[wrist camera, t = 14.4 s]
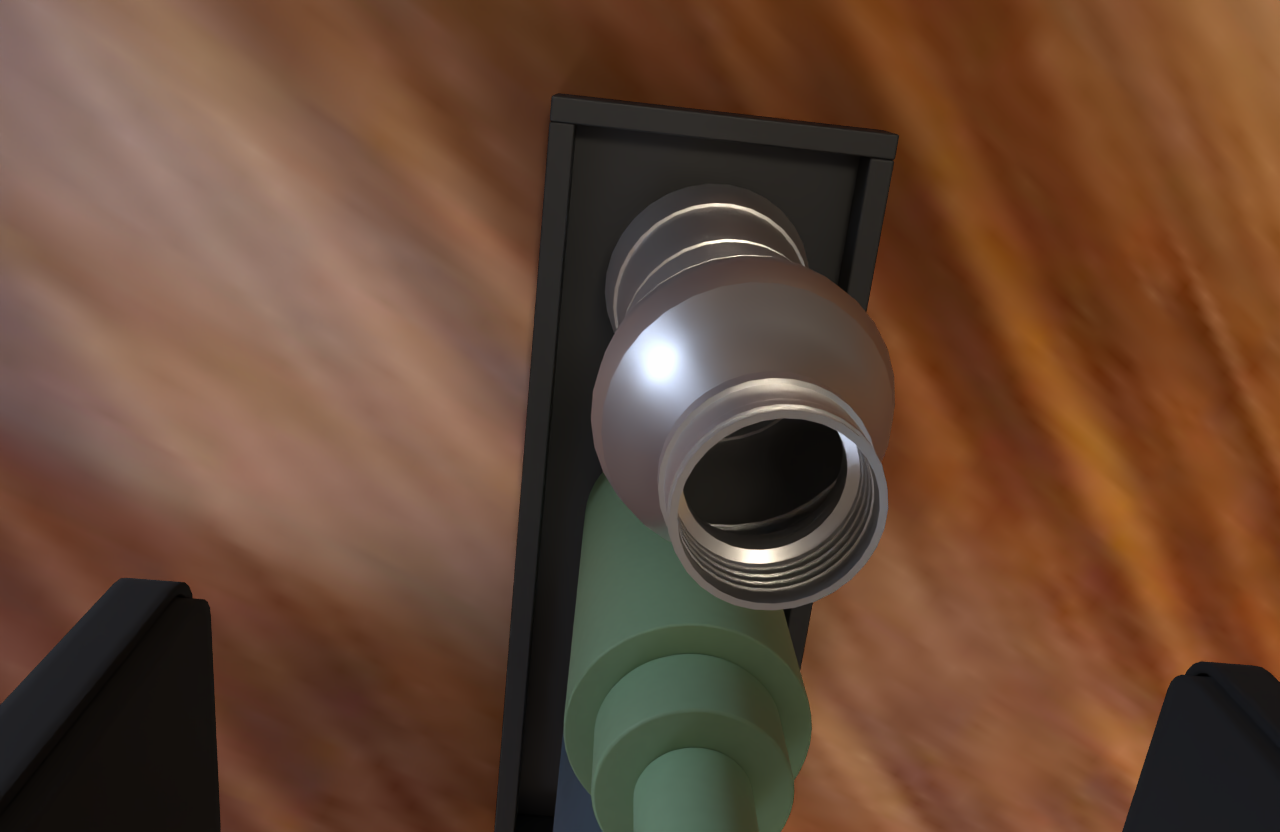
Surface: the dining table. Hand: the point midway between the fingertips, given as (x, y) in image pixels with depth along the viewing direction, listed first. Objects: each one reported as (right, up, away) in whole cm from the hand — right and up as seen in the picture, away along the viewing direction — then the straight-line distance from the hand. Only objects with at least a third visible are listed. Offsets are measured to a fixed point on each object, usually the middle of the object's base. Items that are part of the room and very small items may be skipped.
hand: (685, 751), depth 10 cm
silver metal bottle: (+2, +8, +26) cm, 27 cm away
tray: (+1, 0, +29) cm, 29 cm away
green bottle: (+1, -1, +29) cm, 29 cm away
